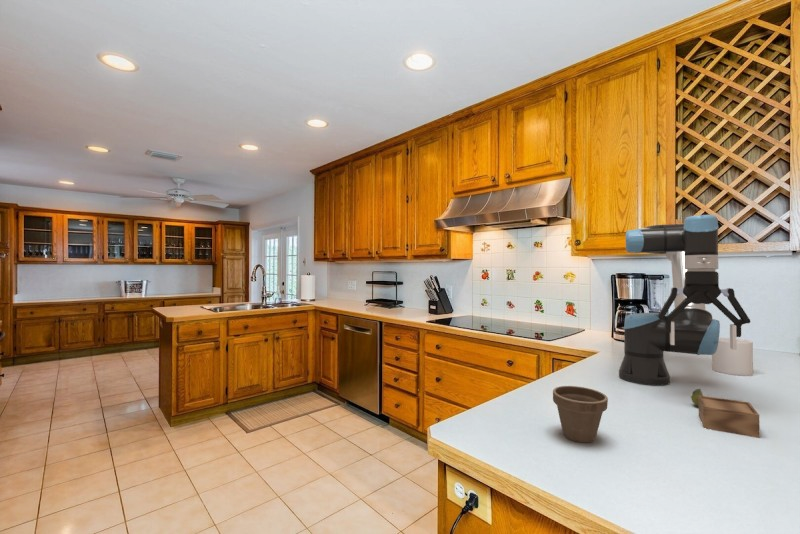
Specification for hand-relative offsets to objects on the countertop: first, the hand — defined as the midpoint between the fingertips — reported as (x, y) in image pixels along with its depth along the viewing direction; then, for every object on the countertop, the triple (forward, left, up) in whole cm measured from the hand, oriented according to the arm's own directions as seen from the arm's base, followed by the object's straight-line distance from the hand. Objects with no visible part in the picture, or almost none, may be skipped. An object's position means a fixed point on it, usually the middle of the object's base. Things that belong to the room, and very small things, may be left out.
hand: (701, 346), depth 107 cm
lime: (0, 0, -17) cm, 17 cm away
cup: (+18, +54, -17) cm, 59 cm away
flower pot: (-28, -38, -17) cm, 51 cm away
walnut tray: (+3, -13, -17) cm, 22 cm away
